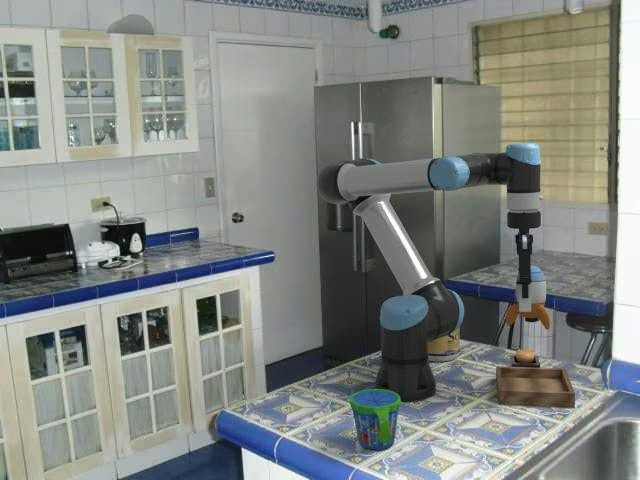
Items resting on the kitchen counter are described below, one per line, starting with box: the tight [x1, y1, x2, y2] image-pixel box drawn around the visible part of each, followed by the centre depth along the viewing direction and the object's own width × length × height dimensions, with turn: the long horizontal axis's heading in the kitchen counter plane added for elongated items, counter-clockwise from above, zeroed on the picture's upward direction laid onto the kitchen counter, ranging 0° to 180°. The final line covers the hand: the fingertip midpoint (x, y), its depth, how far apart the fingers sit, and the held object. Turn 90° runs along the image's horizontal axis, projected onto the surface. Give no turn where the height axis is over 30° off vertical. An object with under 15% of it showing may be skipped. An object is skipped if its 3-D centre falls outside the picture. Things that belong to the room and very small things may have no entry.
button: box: [515, 349, 535, 363], centre depth 184 cm, size 5×5×2 cm
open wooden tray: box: [495, 365, 576, 409], centre depth 171 cm, size 17×17×4 cm
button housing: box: [509, 354, 541, 368], centre depth 184 cm, size 7×7×4 cm
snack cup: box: [349, 388, 402, 451], centre depth 147 cm, size 16×10×10 cm
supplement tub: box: [428, 327, 461, 363], centre depth 200 cm, size 12×12×17 cm
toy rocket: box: [505, 265, 551, 330], centre depth 164 cm, size 10×11×15 cm
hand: (524, 307), depth 165 cm, fingers closed on toy rocket, 7 cm apart
